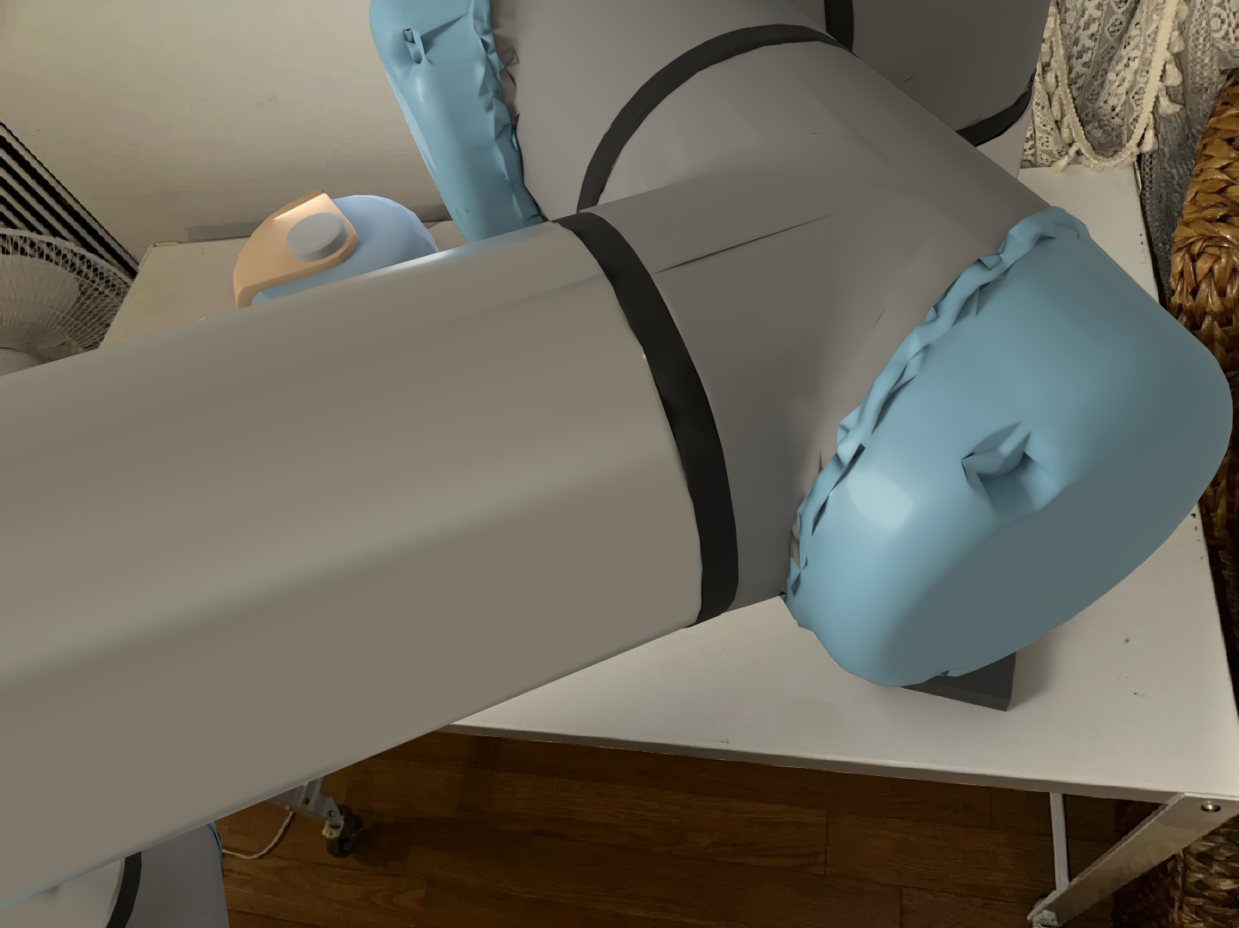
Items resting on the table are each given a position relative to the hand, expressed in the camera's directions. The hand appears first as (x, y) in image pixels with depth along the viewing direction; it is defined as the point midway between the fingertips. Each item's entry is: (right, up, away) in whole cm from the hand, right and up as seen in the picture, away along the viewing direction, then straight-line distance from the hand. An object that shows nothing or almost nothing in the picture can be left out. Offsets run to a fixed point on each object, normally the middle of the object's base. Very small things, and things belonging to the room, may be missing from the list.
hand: (875, 527), depth 52 cm
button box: (+9, -8, +13) cm, 17 cm away
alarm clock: (-41, +19, +44) cm, 63 cm away
